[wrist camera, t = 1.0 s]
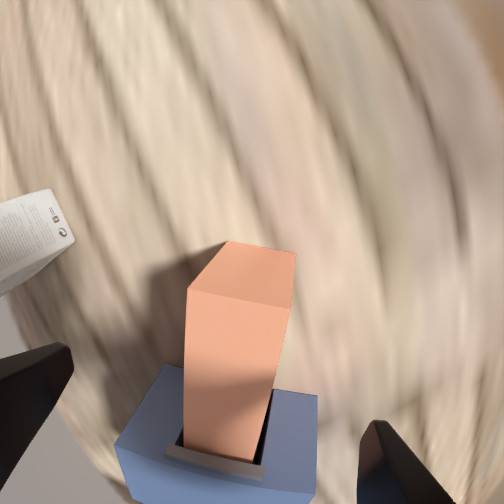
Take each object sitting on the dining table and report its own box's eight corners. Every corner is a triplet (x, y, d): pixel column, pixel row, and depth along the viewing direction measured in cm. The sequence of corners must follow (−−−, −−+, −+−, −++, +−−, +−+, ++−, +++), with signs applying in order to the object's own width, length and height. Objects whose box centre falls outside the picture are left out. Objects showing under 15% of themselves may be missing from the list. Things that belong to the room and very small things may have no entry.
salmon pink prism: (257, 426, 20) (242, 494, 14) (209, 415, 20) (184, 480, 15) (296, 253, 16) (290, 309, 10) (227, 240, 16) (187, 288, 11)
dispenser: (293, 455, 21) (283, 536, 14) (168, 427, 22) (132, 499, 15) (319, 391, 18) (317, 490, 11) (165, 358, 19) (112, 440, 12)
